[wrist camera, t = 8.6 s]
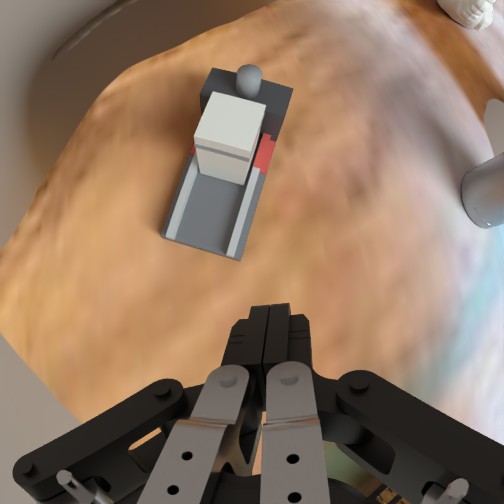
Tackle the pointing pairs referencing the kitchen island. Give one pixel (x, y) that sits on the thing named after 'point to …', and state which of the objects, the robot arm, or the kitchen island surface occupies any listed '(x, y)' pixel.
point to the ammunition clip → (386, 496)
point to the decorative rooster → (469, 12)
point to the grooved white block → (228, 137)
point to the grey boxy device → (221, 191)
